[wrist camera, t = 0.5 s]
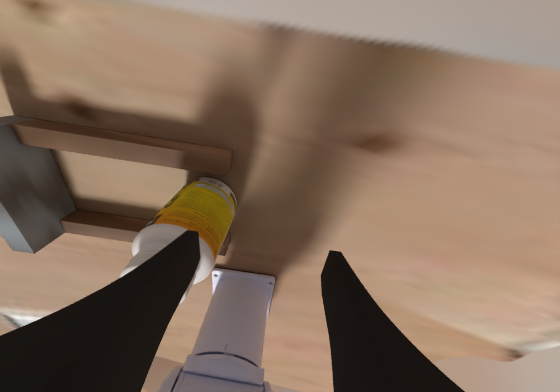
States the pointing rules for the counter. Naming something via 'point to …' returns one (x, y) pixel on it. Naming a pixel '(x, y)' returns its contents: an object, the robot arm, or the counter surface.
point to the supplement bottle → (189, 224)
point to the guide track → (53, 191)
